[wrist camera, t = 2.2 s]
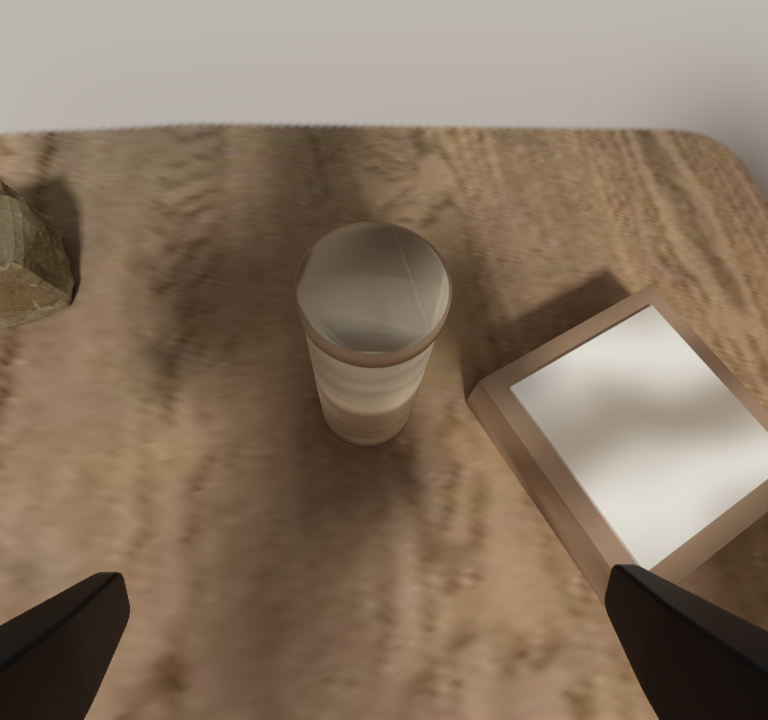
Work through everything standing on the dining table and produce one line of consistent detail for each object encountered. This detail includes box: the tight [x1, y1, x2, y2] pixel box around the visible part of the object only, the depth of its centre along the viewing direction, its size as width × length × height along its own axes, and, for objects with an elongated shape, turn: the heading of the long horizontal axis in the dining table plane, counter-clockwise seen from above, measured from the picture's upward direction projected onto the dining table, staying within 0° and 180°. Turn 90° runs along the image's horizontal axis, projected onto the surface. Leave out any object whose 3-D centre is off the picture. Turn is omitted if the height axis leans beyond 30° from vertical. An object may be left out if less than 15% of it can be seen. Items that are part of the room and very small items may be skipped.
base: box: [466, 285, 768, 606], centre depth 23 cm, size 11×11×3 cm
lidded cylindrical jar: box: [293, 221, 452, 446], centre depth 19 cm, size 5×5×11 cm
